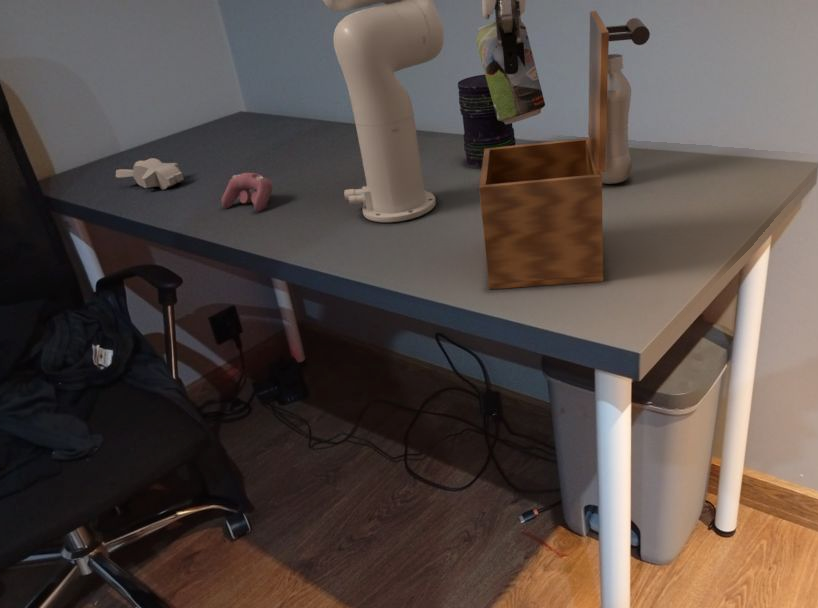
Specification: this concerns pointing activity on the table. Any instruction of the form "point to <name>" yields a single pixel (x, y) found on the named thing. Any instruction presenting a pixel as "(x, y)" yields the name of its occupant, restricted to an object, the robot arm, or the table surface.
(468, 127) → the storage jar
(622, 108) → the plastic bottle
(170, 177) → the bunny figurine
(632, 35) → the chest lid
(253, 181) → the video game controller
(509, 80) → the beverage can
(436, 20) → the robot arm
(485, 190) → the chest
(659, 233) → the table surface
